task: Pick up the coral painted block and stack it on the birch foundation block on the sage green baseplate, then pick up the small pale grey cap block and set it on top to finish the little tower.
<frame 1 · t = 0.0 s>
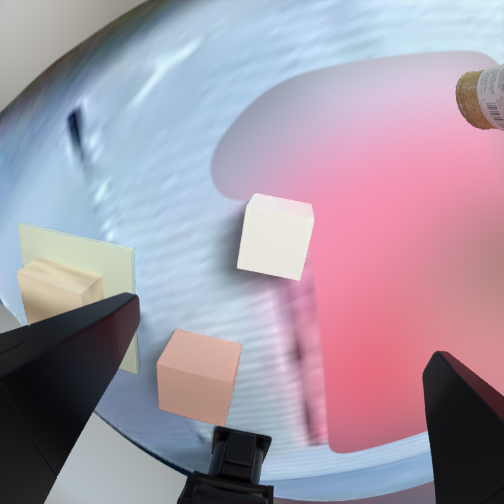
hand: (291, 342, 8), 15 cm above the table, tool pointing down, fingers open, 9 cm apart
cap block: (278, 225, 23), on the table
coral block: (206, 360, 28), on the table
baseplate: (75, 299, 28), on the table
foundation block: (72, 302, 27), point 1 cm above the table, touching baseplate
sprinkles bottle: (475, 100, 17), on the table
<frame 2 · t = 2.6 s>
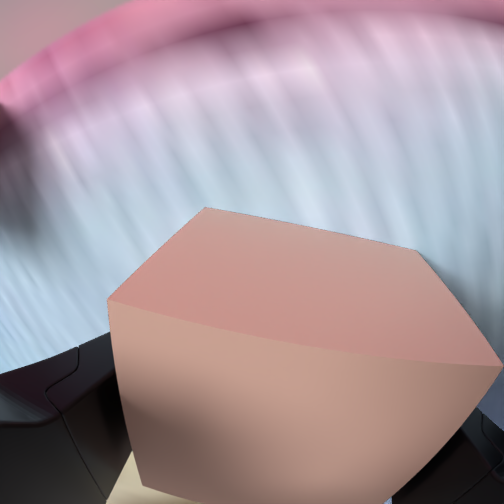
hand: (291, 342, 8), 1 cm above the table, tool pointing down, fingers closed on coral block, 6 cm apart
coral block: (292, 321, 9), on the table, touching gripper
foundation block: (185, 494, 14), point 1 cm above the table, touching baseplate
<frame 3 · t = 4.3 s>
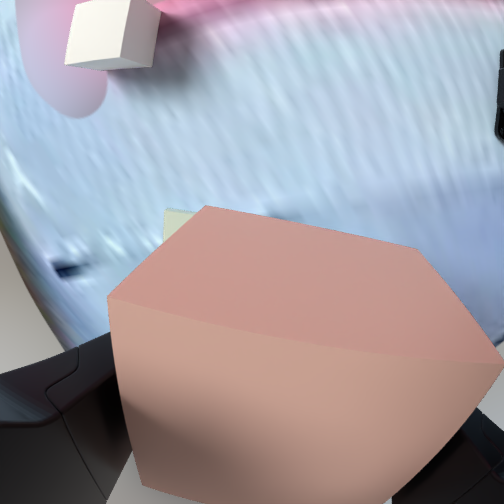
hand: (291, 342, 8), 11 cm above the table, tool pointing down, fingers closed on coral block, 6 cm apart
cap block: (129, 41, 16), on the table
coral block: (292, 320, 9), point 10 cm above the table, touching gripper
baseplate: (261, 321, 22), on the table
when the fingers open (6 cm above the table, at t = 6.1 s): coral block stays where it is, resting on foundation block.
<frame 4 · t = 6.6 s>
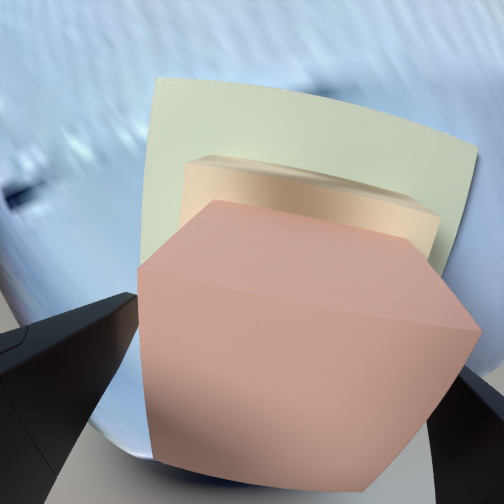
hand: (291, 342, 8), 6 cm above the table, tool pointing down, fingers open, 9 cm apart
coral block: (293, 305, 10), point 4 cm above the table, touching foundation block
baseplate: (293, 258, 14), on the table
foundation block: (293, 263, 14), point 1 cm above the table, touching baseplate, coral block
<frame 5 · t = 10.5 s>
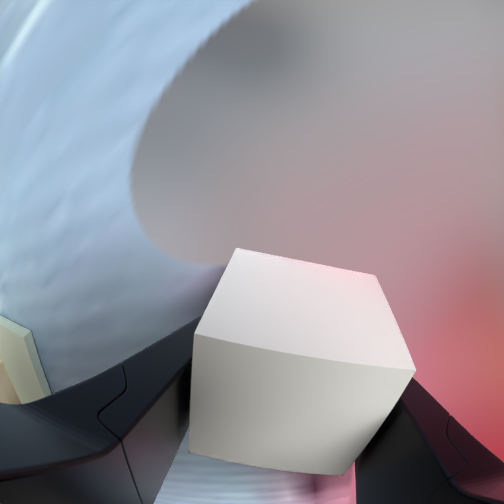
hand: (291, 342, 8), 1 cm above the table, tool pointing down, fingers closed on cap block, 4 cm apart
cap block: (292, 321, 9), on the table, touching gripper
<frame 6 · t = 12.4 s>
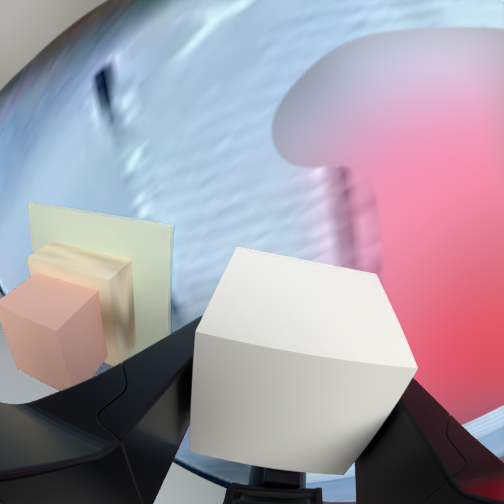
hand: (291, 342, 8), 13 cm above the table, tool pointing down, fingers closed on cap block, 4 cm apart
cap block: (293, 320, 9), point 12 cm above the table, touching gripper
coral block: (71, 315, 21), point 4 cm above the table, touching foundation block
baseplate: (96, 290, 25), on the table
foundation block: (93, 293, 24), point 1 cm above the table, touching baseplate, coral block
when the fingers open (11 cm above the table, at t = 14.4 s): cap block stays where it is, resting on coral block.
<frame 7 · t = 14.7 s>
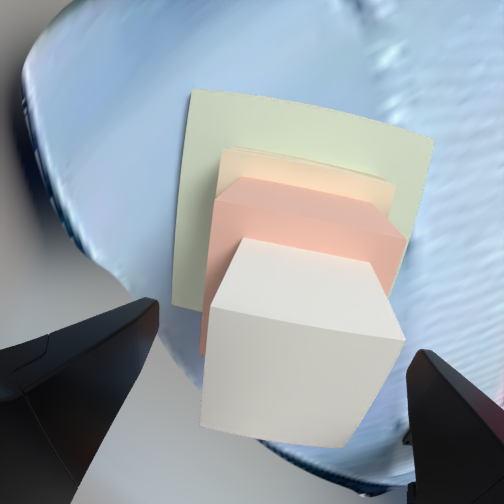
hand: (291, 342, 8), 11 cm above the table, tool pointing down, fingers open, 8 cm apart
cap block: (294, 305, 10), point 9 cm above the table, touching coral block
coral block: (295, 250, 15), point 4 cm above the table, touching cap block, foundation block
baseplate: (294, 224, 19), on the table
foundation block: (294, 227, 18), point 1 cm above the table, touching baseplate, coral block
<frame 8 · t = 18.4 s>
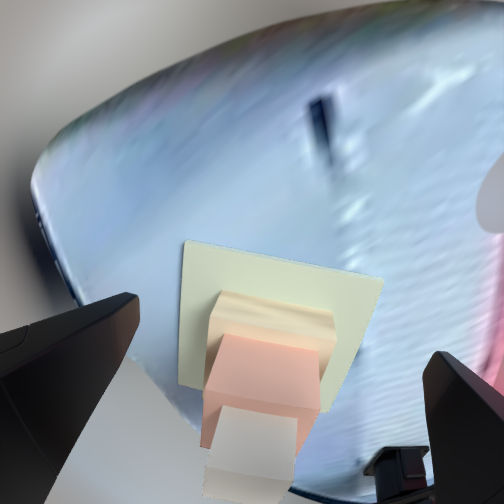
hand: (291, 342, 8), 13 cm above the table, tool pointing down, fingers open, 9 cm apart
cap block: (254, 432, 16), point 9 cm above the table, touching coral block
coral block: (263, 375, 21), point 4 cm above the table, touching cap block, foundation block
baseplate: (268, 340, 24), on the table
foundation block: (267, 344, 24), point 1 cm above the table, touching baseplate, coral block
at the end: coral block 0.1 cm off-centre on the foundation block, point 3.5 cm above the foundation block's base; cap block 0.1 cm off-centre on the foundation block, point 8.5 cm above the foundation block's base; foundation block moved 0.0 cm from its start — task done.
